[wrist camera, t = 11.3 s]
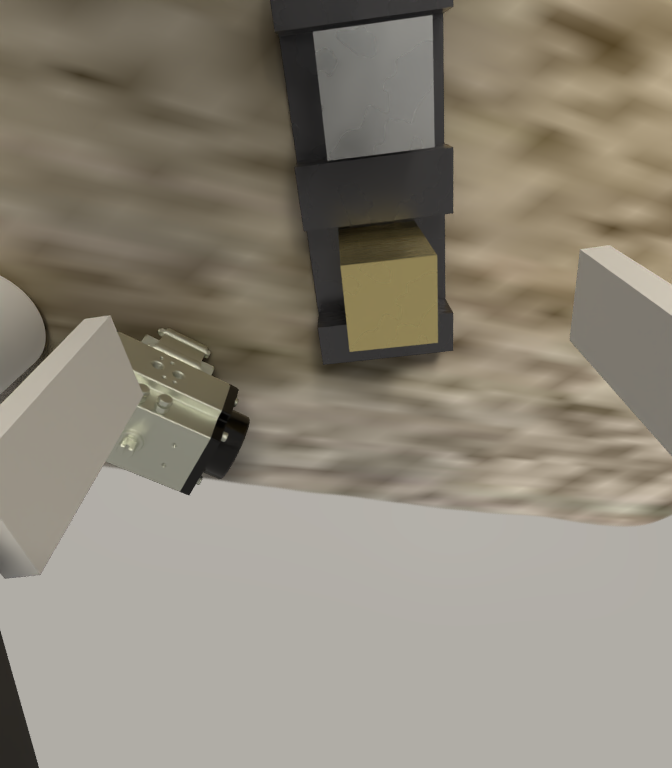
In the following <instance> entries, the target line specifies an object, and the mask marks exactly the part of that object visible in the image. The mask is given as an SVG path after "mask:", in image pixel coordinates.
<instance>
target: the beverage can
mask: <svg viewBox="0 0 672 768" xmlns="http://www.w3.org/2000/svg"><path fill="white" fill-rule="evenodd" d="M45 341H46V333H45V326H44V323H43V320H42V317H41V315H40V313H39V311H38V309H37V308H36V306H35V304H34V303H33V302H32V300H31V299H30V298H29V297H28V296H27V295H26V294H25V293H24V292H23V291H22V290H21V289H20V288H19V287H17V286H16V285H15V284H14V283H12V282H11V281H9V280H7V279H6V278H4V277H2V276H0V394H1V393H2V392H3V391H4V390H6V389H7V388H8V387H9V386H10V385H11V384H12V383H13V382H14V381H15V380H16V379H18V378H19V377H20V376H21V375H22V374H23V373H24V372H25V371H26V370H27V369H28V368H30V367H31V366H32V365H33V364H34V363H35V362H36V361H37V360H38V359H39V357H40V356H41V354H42V352H43V350H44V346H45Z"/></svg>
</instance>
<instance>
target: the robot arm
mask: <svg viewBox="0 0 672 768" xmlns="http://www.w3.org/2000/svg"><path fill="white" fill-rule="evenodd" d="M570 341H571V342H572V344H573V345H574V346H575V347H576V348H577V349H578V350H579V351H580V353H581V354H582V355H583V356H584V357H585V358H586V359H587V361H588V362H589V363H590V364H591V365H592V366H593V367H594V368H595V370H596V371H597V372H598V373H599V374H600V375H601V376H602V378H603V379H604V380H605V381H606V382H607V383H608V384H609V385H610V387H611V388H612V389H613V390H614V391H615V392H616V393H617V395H618V396H619V397H620V398H621V399H622V400H623V401H624V402H625V404H626V405H627V406H628V407H629V408H630V409H631V410H632V412H633V413H634V414H635V415H636V416H637V417H638V418H639V419H640V421H641V422H642V423H643V424H644V425H645V426H646V427H647V429H648V430H649V431H650V432H651V433H652V434H653V435H654V437H655V438H656V439H657V440H658V441H659V442H660V443H661V444H662V446H663V447H664V448H665V449H666V450H667V451H668V452H669V454H670V455H671V456H672V284H670V283H668V282H667V281H665V280H664V279H662V278H661V277H659V276H657V275H656V274H654V273H653V272H651V271H649V270H648V269H646V268H645V267H643V266H642V265H640V264H638V263H637V262H635V261H634V260H632V259H630V258H629V257H627V256H626V255H624V254H623V253H621V252H619V251H618V250H616V249H615V248H613V247H611V246H610V245H607V246H600V247H593V248H586V249H580V255H579V263H578V272H577V281H576V289H575V298H574V306H573V315H572V324H571V332H570ZM142 397H143V393H142V390H141V388H140V386H139V383H138V381H137V378H136V376H135V374H134V371H133V369H132V366H131V364H130V362H129V359H128V357H127V354H126V352H125V350H124V347H123V345H122V342H121V340H120V337H119V335H118V333H117V330H116V328H115V325H114V323H113V321H112V318H111V316H110V315H109V316H102V317H94V318H87V319H84V320H83V321H82V322H81V323H80V324H79V325H78V326H77V327H76V328H75V329H74V330H73V331H72V332H71V333H70V334H69V335H68V336H67V337H66V338H65V339H64V340H63V341H62V342H61V343H60V344H59V345H58V346H57V348H56V349H55V350H54V351H53V352H52V353H51V354H50V355H49V356H48V357H47V358H46V359H45V360H44V361H43V362H42V363H41V364H40V365H39V366H38V367H37V368H36V369H35V370H34V371H33V372H32V373H31V374H30V375H29V376H28V377H27V378H26V379H25V380H24V381H23V382H22V383H21V384H20V385H19V386H18V387H17V388H16V389H15V390H14V391H13V392H12V393H11V394H10V395H9V396H8V397H7V398H6V399H5V400H4V401H3V402H2V403H1V404H0V573H1V575H2V576H3V577H4V578H16V577H25V576H35V575H41V573H42V571H43V569H44V568H45V566H46V564H47V562H48V560H49V559H50V557H51V555H52V554H53V552H54V550H55V548H56V547H57V545H58V543H59V542H60V540H61V538H62V536H63V535H64V533H65V531H66V529H67V528H68V526H69V524H70V522H71V521H72V519H73V517H74V515H75V513H76V512H77V510H78V508H79V507H80V505H81V503H82V501H83V500H84V498H85V496H86V494H87V493H88V491H89V489H90V487H91V485H92V484H93V482H94V480H95V479H96V477H97V475H98V473H99V472H100V470H101V468H102V466H103V465H104V463H105V461H106V460H107V458H108V456H109V454H110V453H111V451H112V449H113V447H114V446H115V444H116V442H117V440H118V439H119V437H120V435H121V433H122V432H123V430H124V428H125V426H126V425H127V423H128V421H129V419H130V418H131V416H132V414H133V412H134V411H135V409H136V407H137V405H138V404H139V402H140V400H141V398H142ZM0 768H39V767H38V763H37V759H36V756H35V752H34V749H33V745H32V742H31V738H30V734H29V731H28V727H27V724H26V720H25V717H24V713H23V710H22V706H21V703H20V699H19V695H18V692H17V688H16V685H15V681H14V678H13V674H12V671H11V667H10V663H9V660H8V656H7V653H6V649H5V646H4V643H3V639H2V635H1V631H0Z"/></svg>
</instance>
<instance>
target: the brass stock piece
mask: <svg viewBox="0 0 672 768" xmlns="http://www.w3.org/2000/svg"><path fill="white" fill-rule="evenodd" d="M338 235H339V250H340V266H341V275H342V285H343V294H344V304H345V313H346V322H347V332H348V341H349V351H350V352H353V351H363V350H373V349H382V348H392V347H402V346H411V345H421V344H431V343H438V287H437V254H436V253H435V251H434V250H433V248H432V246H431V245H430V243H429V242H428V240H427V239H426V237H425V236H424V234H423V233H422V231H421V230H420V228H419V227H418V225H417V224H416V222H415V221H409V222H400V223H391V224H382V225H374V226H365V227H356V228H347V229H338Z"/></svg>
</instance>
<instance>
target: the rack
mask: <svg viewBox="0 0 672 768" xmlns="http://www.w3.org/2000/svg"><path fill="white" fill-rule="evenodd" d="M270 2H271V9H272V16H273V23H274V29H275V33H276V34H277V35H278V36H279V38H280V45H281V52H282V59H283V66H284V73H285V80H286V87H287V94H288V101H289V108H290V115H291V123H292V130H293V137H294V144H295V151H296V158H297V163H296V165H295V174H296V181H297V187H298V194H299V201H300V208H301V215H302V222H303V229H304V231H307V235H308V242H309V249H310V256H311V263H312V270H313V277H314V284H315V291H316V298H317V305H318V312H319V316H318V332H319V339H320V346H321V352H322V359H323V365H324V364H334V363H343V362H352V361H362V360H371V359H380V358H389V357H399V356H408V355H417V354H426V353H436V352H445V351H453V312H452V310H451V308H450V306H449V305H448V303H447V301H446V299H445V214H450V213H453V147H452V146H449V145H447V144H445V143H444V69H443V13H445V12H446V11H448V10H449V9H451V8H452V7H453V0H270ZM429 15H432V16H433V78H434V140H435V147H432V148H424V149H416V150H408V151H400V152H393V153H385V154H377V155H369V156H361V157H353V158H345V159H338V160H330V161H328V160H327V151H326V143H325V134H324V125H323V116H322V108H321V99H320V90H319V81H318V73H317V64H316V55H315V47H314V38H313V32H315V31H322V30H329V29H337V28H344V27H351V26H358V25H365V24H372V23H379V22H387V21H394V20H401V19H408V18H415V17H422V16H429ZM409 221H415V222H416V224H417V225H418V227H419V228H420V230H421V231H422V233H423V234H424V236H425V237H426V239H427V240H428V242H429V243H430V245H431V246H432V248H433V250H434V251H435V253H436V254H437V287H438V343H431V344H421V345H411V346H402V347H392V348H382V349H373V350H363V351H353V352H350V351H349V341H348V332H347V322H346V313H345V304H344V294H343V285H342V275H341V266H340V250H339V235H338V229H347V228H356V227H365V226H374V225H382V224H391V223H400V222H409Z"/></svg>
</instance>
